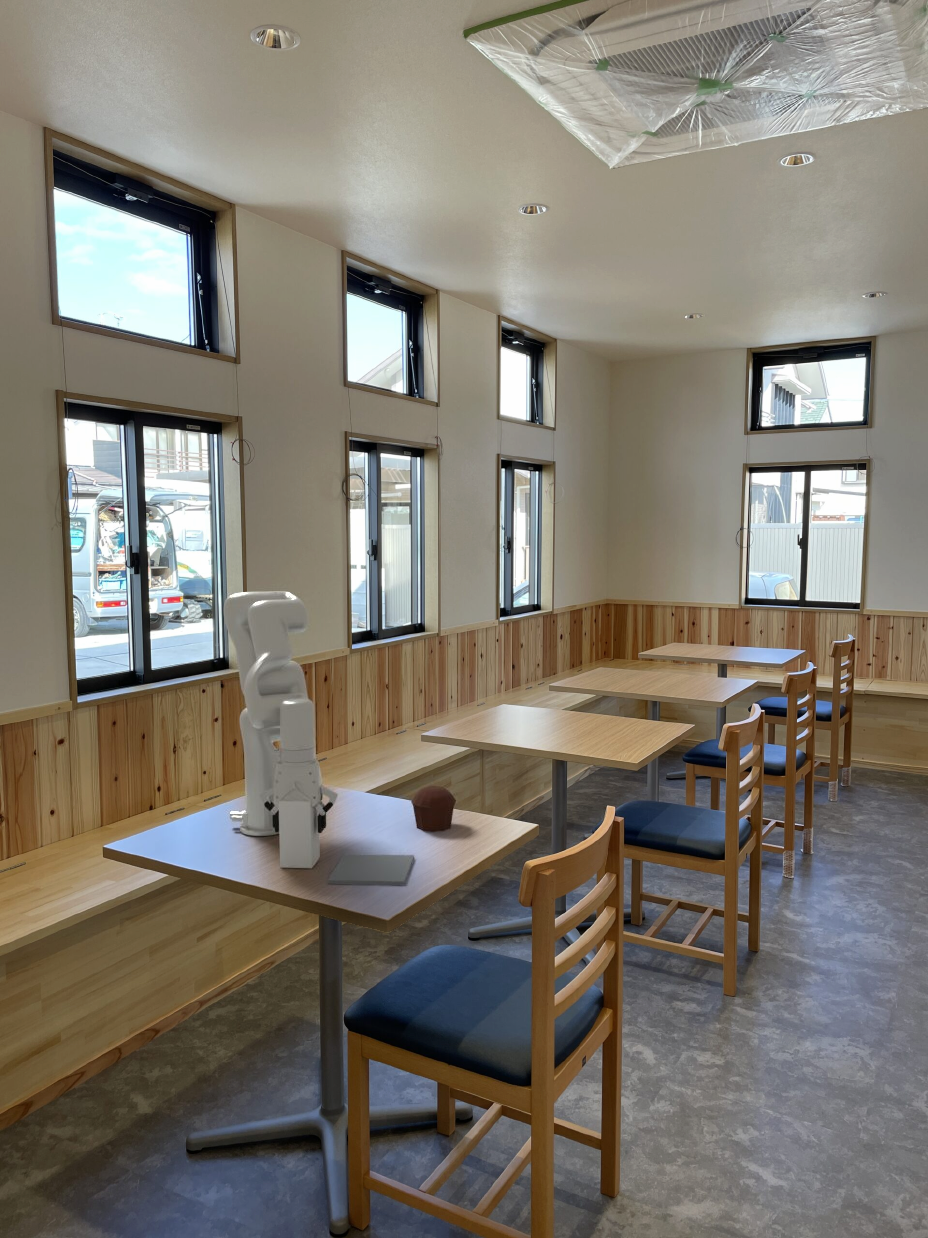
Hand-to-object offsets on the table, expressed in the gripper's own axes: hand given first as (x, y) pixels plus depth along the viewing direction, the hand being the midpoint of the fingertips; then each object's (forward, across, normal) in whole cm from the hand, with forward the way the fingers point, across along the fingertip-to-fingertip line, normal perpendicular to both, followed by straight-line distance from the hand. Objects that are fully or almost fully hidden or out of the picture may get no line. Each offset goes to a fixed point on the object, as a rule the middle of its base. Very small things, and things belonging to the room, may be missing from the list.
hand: (299, 831), depth 197 cm
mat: (+7, +17, -4) cm, 19 cm away
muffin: (+8, +27, +28) cm, 40 cm away
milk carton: (+7, 0, 0) cm, 7 cm away
